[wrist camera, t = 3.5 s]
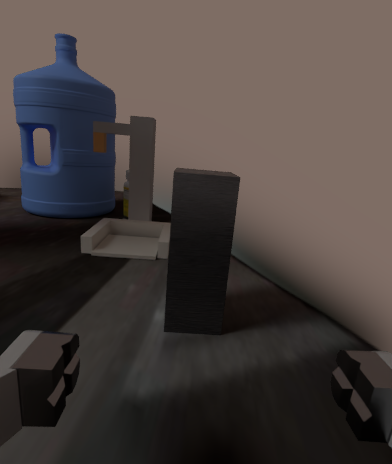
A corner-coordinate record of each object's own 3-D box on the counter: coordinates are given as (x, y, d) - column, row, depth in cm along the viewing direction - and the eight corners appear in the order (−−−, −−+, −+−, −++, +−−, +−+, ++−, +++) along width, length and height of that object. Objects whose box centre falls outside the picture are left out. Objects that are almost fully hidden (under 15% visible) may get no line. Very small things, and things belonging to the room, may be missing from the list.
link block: (163, 331, 20) (174, 171, 17) (168, 302, 24) (176, 167, 21) (220, 335, 20) (240, 177, 17) (215, 305, 24) (230, 172, 21)
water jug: (104, 201, 64) (104, 59, 57) (125, 217, 51) (128, 36, 44) (22, 202, 56) (9, 37, 49) (22, 221, 43) (5, 2, 36)
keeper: (64, 253, 32) (57, 99, 28) (98, 225, 45) (98, 114, 40) (167, 260, 33) (176, 110, 29) (173, 230, 45) (180, 122, 41)
